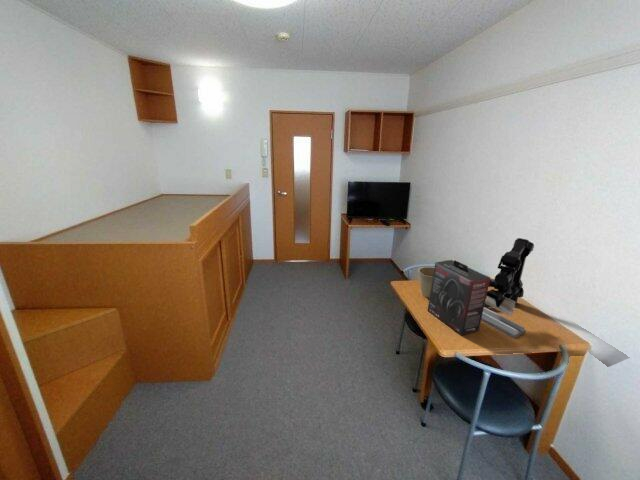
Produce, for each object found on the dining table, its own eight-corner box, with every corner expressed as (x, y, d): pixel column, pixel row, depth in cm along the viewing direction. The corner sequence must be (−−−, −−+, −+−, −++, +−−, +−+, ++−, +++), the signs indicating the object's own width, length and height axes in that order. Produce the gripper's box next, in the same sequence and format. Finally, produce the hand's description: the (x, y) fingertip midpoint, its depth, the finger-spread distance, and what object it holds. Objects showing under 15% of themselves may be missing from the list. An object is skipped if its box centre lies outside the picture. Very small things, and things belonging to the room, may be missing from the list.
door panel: (489, 302, 154) (492, 291, 152) (512, 313, 144) (515, 301, 142) (486, 304, 152) (488, 292, 150) (509, 315, 142) (512, 303, 140)
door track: (480, 309, 163) (481, 303, 162) (525, 332, 143) (526, 326, 142) (468, 313, 158) (469, 308, 157) (513, 338, 138) (515, 332, 137)
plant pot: (426, 287, 187) (430, 265, 182) (446, 297, 175) (450, 273, 170) (410, 292, 180) (413, 269, 175) (429, 303, 168) (433, 279, 163)
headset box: (426, 310, 161) (434, 255, 150) (443, 306, 165) (453, 253, 155) (460, 336, 139) (473, 274, 129) (480, 331, 143) (493, 271, 133)
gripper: (501, 269, 154) (495, 295, 159) (479, 276, 145) (473, 303, 150) (523, 277, 144) (516, 304, 149) (501, 285, 136) (494, 313, 141)
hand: (499, 306), depth 148 cm, fingers closed on door panel, 3 cm apart
